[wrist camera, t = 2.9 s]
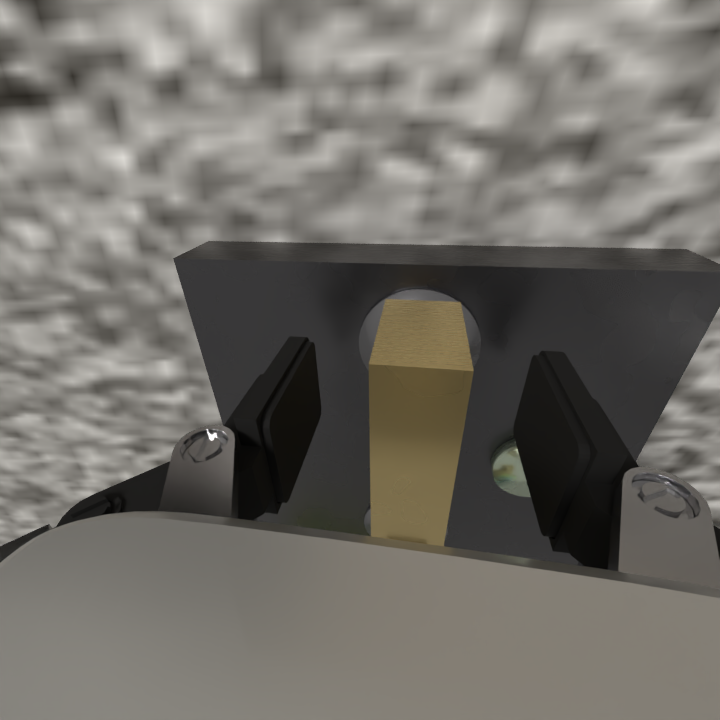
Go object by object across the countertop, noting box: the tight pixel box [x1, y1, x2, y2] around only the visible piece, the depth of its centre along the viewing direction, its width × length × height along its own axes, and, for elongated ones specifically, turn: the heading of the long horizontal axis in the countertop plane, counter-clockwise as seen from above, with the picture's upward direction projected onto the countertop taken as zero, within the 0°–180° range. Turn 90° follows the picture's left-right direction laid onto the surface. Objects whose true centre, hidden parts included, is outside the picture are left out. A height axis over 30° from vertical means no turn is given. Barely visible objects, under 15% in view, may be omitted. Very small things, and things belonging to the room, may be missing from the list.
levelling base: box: [173, 241, 720, 565], centre depth 17 cm, size 18×17×3 cm
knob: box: [369, 299, 474, 546], centre depth 10 cm, size 3×6×6 cm, turn 1°
